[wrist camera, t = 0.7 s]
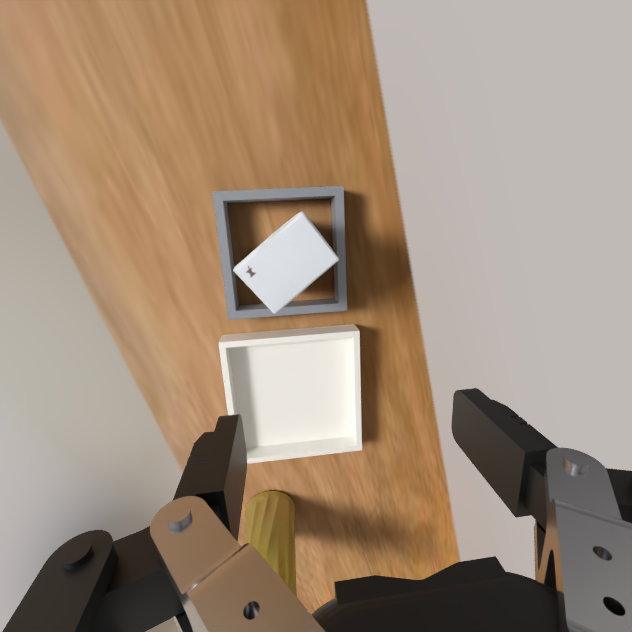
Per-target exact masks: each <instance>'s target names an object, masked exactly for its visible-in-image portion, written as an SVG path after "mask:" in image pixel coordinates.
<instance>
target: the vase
mask: <svg viewBox="0 0 632 632" xmlns="http://www.w3.org/2000/svg"><path fill="white" fill-rule="evenodd" d="M295 512H296V508H295V504H294V502H293V501H292V499H291V498H290V497H289V496H288V495H286V494H285V493H282V492H279V491H265V492H262V493H260V494H258V495H256V496H255V497H253V498H252V499H251V500H250V502H249V503H248V505H247V507H246V510H245V517H246V525H245V544H246V543H250V544H252V545H253V546H254V547H255V548H256V549H257V551H258V552H259V553H260V554H261V555H262V557H263V558H264V559H265V560H266V561H267V562H268V564H269V565H270V566H271V567H272V568H273V570H274V571H275V572H276V573H277V574H278V576H279V577H280V578H281V579H282V580H283V582H284V583H285V584H286V585H287V586H288V588H289V589H290V590H291V591H292V592H293V593H294V595H295V596H296V597H297V595H296V568H295V562H296V555H295V530H294V520H295ZM245 544H244V545H245Z"/></svg>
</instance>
